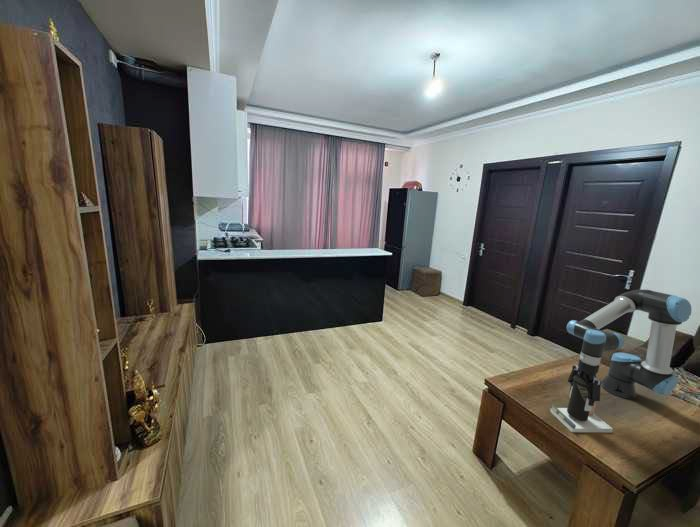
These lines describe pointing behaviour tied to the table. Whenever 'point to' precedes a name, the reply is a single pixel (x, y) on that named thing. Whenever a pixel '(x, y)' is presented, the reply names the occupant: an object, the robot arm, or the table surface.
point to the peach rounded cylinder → (592, 410)
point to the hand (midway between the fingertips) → (579, 404)
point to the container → (579, 399)
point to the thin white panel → (580, 422)
